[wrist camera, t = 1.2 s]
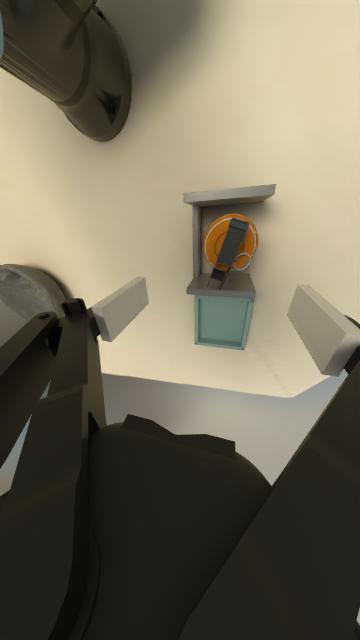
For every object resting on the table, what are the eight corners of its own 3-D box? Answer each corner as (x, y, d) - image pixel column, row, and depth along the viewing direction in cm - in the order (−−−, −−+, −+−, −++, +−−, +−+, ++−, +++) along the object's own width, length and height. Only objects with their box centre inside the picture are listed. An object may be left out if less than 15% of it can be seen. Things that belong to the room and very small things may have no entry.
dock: (196, 200, 37) (183, 193, 27) (262, 194, 34) (276, 184, 24) (196, 277, 46) (186, 294, 36) (248, 279, 42) (254, 297, 33)
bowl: (33, 307, 70) (6, 319, 62) (13, 252, 57) (-24, 257, 49) (81, 323, 67) (60, 338, 59) (71, 268, 55) (43, 277, 47)
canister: (257, 221, 36) (281, 224, 20) (236, 270, 42) (239, 303, 26) (218, 209, 37) (208, 202, 20) (202, 259, 43) (185, 285, 26)
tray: (196, 290, 48) (194, 295, 45) (252, 293, 44) (254, 297, 41) (196, 338, 56) (194, 344, 54) (243, 343, 53) (244, 350, 50)
